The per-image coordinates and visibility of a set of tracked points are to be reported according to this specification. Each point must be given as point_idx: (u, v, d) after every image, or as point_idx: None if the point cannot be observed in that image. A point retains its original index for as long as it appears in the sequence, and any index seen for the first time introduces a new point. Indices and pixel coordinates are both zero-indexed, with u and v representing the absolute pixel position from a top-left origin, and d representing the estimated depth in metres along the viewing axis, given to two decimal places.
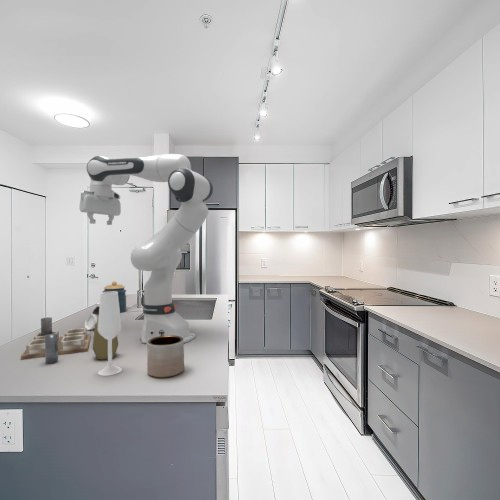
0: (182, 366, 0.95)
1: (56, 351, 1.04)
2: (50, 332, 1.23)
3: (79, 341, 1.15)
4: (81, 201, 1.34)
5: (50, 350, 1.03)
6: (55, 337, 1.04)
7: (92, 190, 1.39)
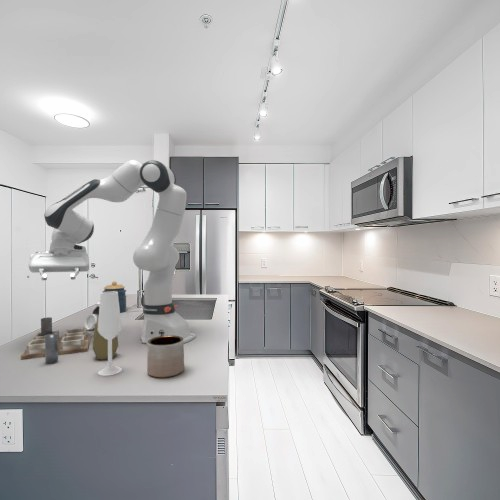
0: (182, 366, 0.95)
1: (56, 351, 1.04)
2: (50, 332, 1.23)
3: (79, 341, 1.15)
4: None
5: (50, 350, 1.03)
6: (55, 337, 1.04)
7: None
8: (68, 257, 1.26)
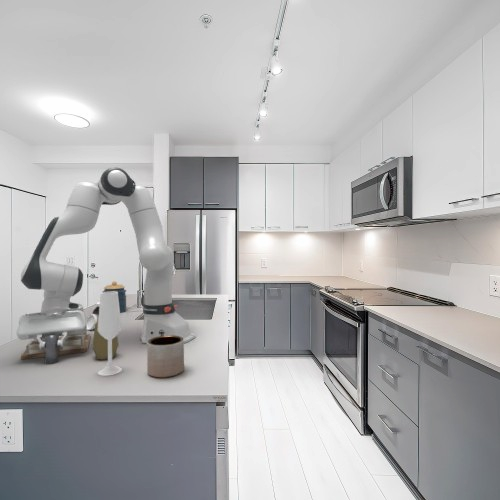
0: (182, 366, 0.95)
1: (56, 351, 1.04)
2: None
3: (79, 341, 1.15)
4: None
5: (50, 350, 1.03)
6: (55, 337, 1.04)
7: None
8: (62, 318, 1.10)
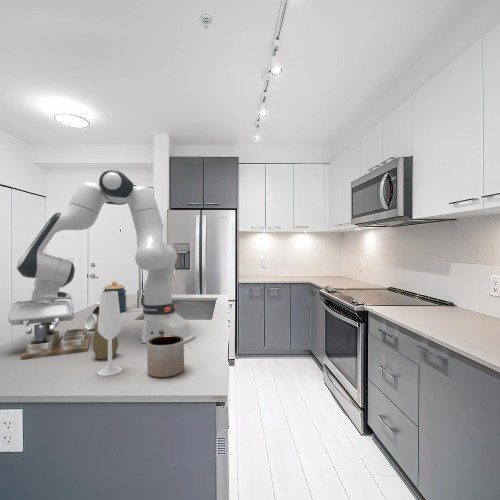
0: (182, 366, 0.95)
1: (45, 340, 1.13)
2: (50, 332, 1.23)
3: (79, 341, 1.15)
4: None
5: (39, 338, 1.11)
6: (44, 327, 1.12)
7: None
8: (51, 306, 1.18)
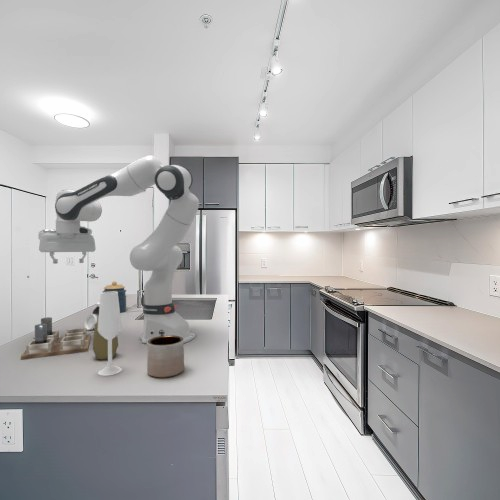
0: (182, 366, 0.95)
1: (45, 340, 1.13)
2: (50, 332, 1.23)
3: (79, 341, 1.15)
4: None
5: (39, 338, 1.11)
6: (44, 327, 1.12)
7: None
8: (75, 240, 1.31)
